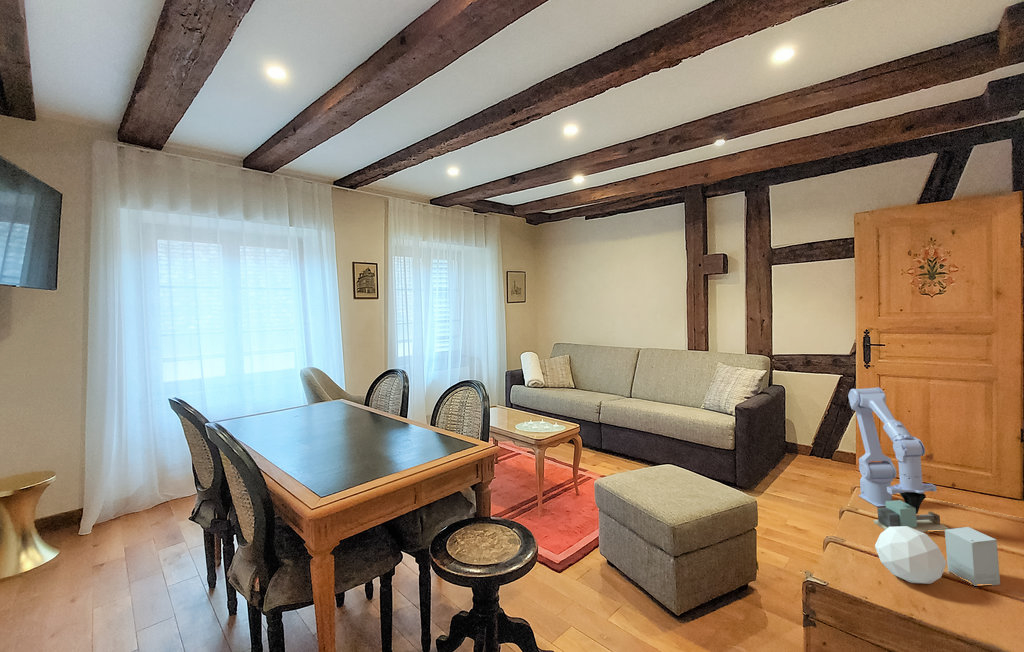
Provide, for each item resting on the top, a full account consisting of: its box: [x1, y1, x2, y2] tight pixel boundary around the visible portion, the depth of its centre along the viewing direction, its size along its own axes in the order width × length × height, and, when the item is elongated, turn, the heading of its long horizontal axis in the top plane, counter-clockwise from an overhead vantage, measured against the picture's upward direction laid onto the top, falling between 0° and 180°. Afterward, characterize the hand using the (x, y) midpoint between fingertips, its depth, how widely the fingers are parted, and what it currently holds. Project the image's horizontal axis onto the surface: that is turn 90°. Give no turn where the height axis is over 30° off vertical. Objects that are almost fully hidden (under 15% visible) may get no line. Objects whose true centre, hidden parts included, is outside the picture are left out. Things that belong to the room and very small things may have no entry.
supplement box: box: [944, 526, 1001, 587], centre depth 117 cm, size 7×7×13 cm
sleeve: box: [885, 499, 917, 527], centre depth 144 cm, size 6×5×6 cm
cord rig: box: [873, 507, 950, 533], centre depth 144 cm, size 8×18×6 cm, turn 86°
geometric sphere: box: [874, 526, 948, 585], centre depth 120 cm, size 14×15×15 cm
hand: (913, 512), depth 144 cm, fingers closed
